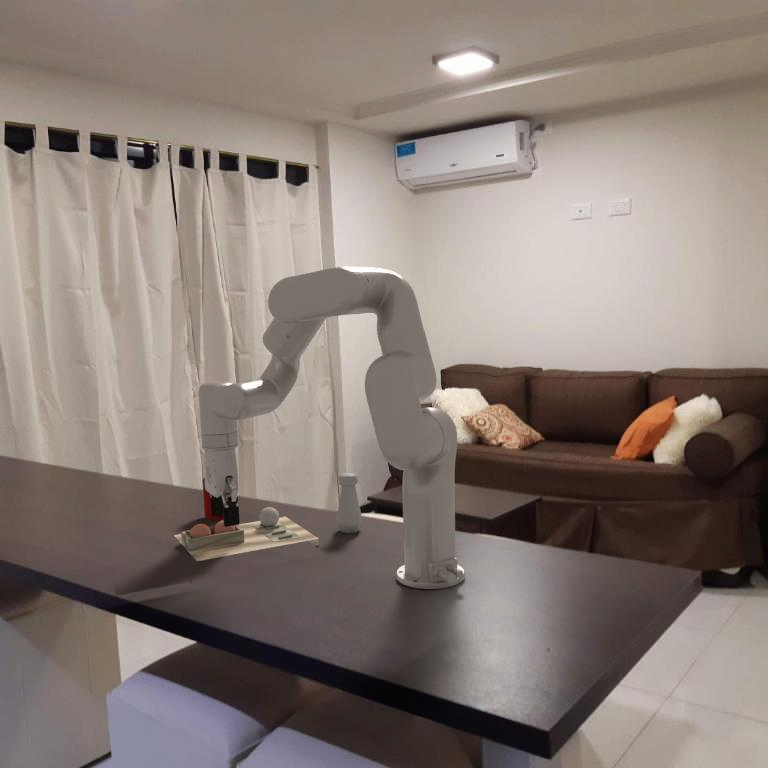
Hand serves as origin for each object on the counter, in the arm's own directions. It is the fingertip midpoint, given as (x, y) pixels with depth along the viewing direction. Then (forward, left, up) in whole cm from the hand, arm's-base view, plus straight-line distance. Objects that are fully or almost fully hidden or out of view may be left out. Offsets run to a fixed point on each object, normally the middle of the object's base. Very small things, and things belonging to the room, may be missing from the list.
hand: (225, 520), depth 163 cm
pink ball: (0, +5, -5) cm, 7 cm away
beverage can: (+20, -4, -6) cm, 22 cm away
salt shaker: (-4, -27, -6) cm, 28 cm away
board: (0, -4, -6) cm, 7 cm away
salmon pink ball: (0, 0, -5) cm, 5 cm away
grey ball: (+4, -11, -4) cm, 13 cm away
